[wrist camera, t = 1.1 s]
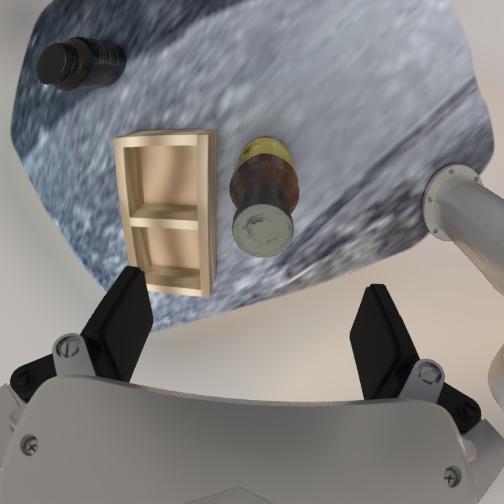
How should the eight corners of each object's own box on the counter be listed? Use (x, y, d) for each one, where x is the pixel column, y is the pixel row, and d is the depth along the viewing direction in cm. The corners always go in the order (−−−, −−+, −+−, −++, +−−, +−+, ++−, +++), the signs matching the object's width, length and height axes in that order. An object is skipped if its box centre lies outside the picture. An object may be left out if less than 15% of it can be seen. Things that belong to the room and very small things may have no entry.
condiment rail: (217, 129, 34) (207, 134, 28) (216, 273, 45) (209, 297, 39) (135, 131, 34) (113, 138, 29) (148, 266, 45) (134, 289, 40)
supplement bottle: (95, 40, 27) (41, 32, 16) (133, 46, 28) (83, 34, 17) (80, 84, 30) (24, 89, 20) (117, 92, 31) (63, 97, 21)
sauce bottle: (243, 133, 34) (216, 170, 17) (293, 138, 34) (320, 183, 17) (239, 181, 37) (212, 263, 20) (286, 187, 37) (301, 273, 20)
